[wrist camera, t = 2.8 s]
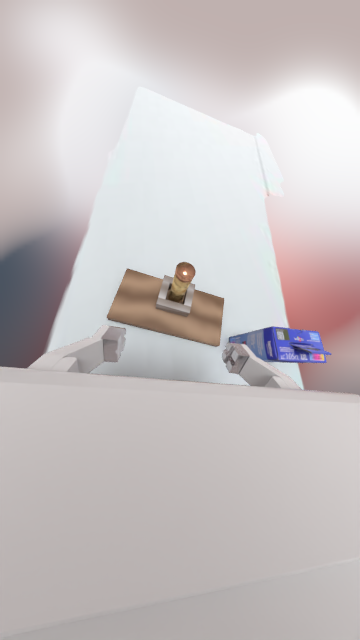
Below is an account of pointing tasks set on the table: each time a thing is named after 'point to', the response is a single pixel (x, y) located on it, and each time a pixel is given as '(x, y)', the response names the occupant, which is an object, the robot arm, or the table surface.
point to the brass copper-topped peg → (181, 281)
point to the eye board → (167, 308)
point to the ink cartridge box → (284, 345)
